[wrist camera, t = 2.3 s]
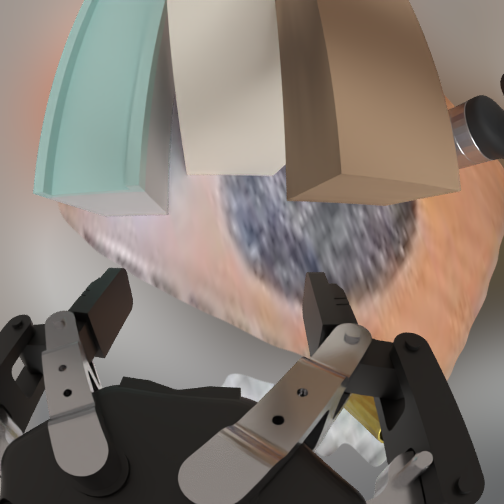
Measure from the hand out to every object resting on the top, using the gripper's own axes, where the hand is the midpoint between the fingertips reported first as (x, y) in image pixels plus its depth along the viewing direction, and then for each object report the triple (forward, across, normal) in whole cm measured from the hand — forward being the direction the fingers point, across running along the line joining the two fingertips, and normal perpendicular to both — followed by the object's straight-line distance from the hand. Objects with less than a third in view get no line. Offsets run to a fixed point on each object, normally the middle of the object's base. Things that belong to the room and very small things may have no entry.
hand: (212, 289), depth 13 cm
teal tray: (+15, +12, -14) cm, 23 cm away
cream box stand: (+32, +2, -5) cm, 33 cm away
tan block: (+2, -4, -14) cm, 15 cm away
